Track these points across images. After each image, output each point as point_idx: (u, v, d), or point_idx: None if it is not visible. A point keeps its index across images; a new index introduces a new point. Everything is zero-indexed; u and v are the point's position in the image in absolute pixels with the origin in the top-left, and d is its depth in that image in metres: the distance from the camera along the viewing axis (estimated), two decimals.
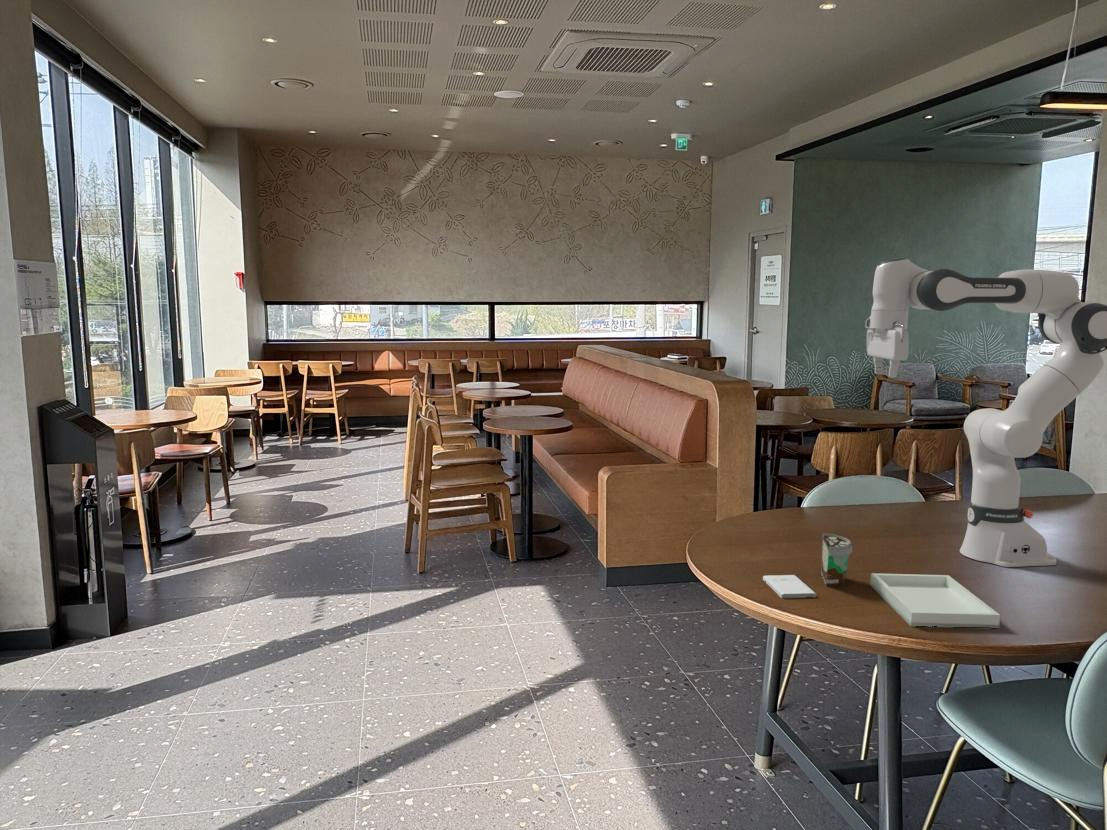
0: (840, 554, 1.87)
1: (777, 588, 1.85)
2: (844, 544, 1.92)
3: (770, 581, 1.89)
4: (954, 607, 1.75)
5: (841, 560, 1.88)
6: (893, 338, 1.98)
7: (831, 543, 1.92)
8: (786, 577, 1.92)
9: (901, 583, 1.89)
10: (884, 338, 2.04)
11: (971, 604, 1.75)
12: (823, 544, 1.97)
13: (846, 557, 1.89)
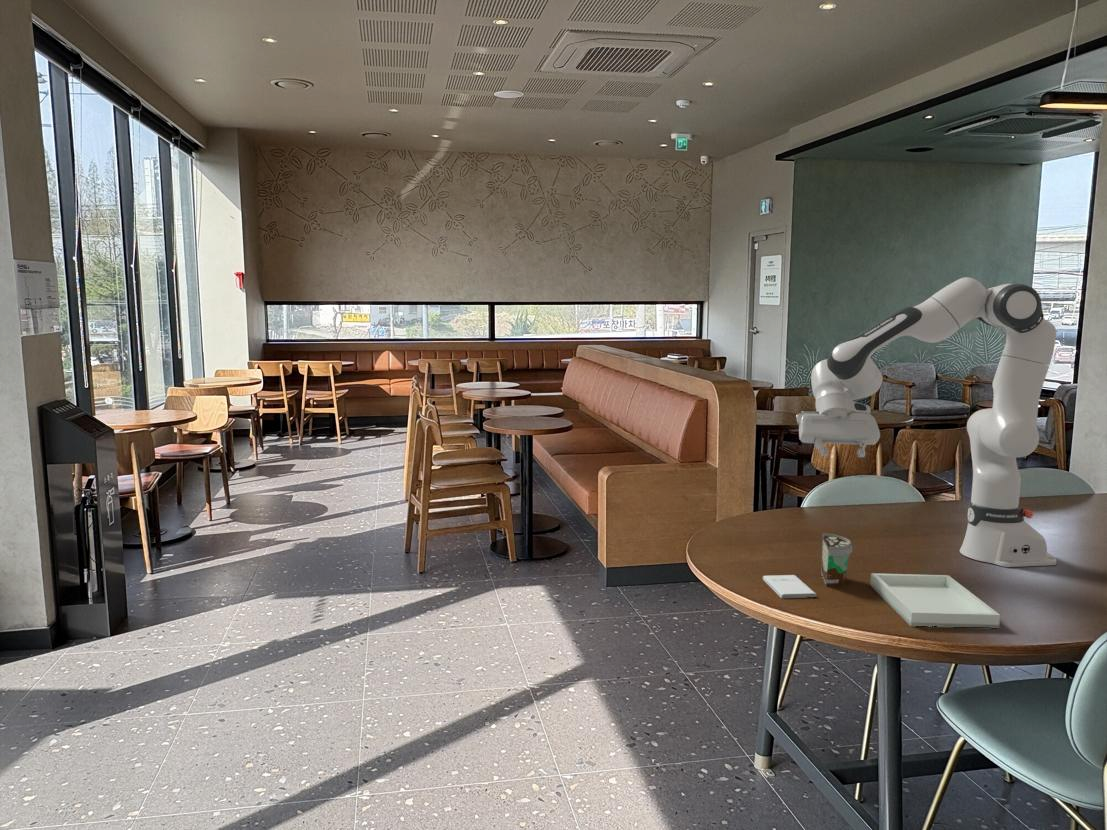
0: (840, 554, 1.87)
1: (777, 588, 1.85)
2: (844, 544, 1.92)
3: (770, 581, 1.89)
4: (954, 607, 1.75)
5: (841, 560, 1.88)
6: None
7: (831, 543, 1.92)
8: (786, 577, 1.92)
9: (901, 583, 1.89)
10: None
11: (971, 604, 1.75)
12: (823, 544, 1.97)
13: (846, 557, 1.89)
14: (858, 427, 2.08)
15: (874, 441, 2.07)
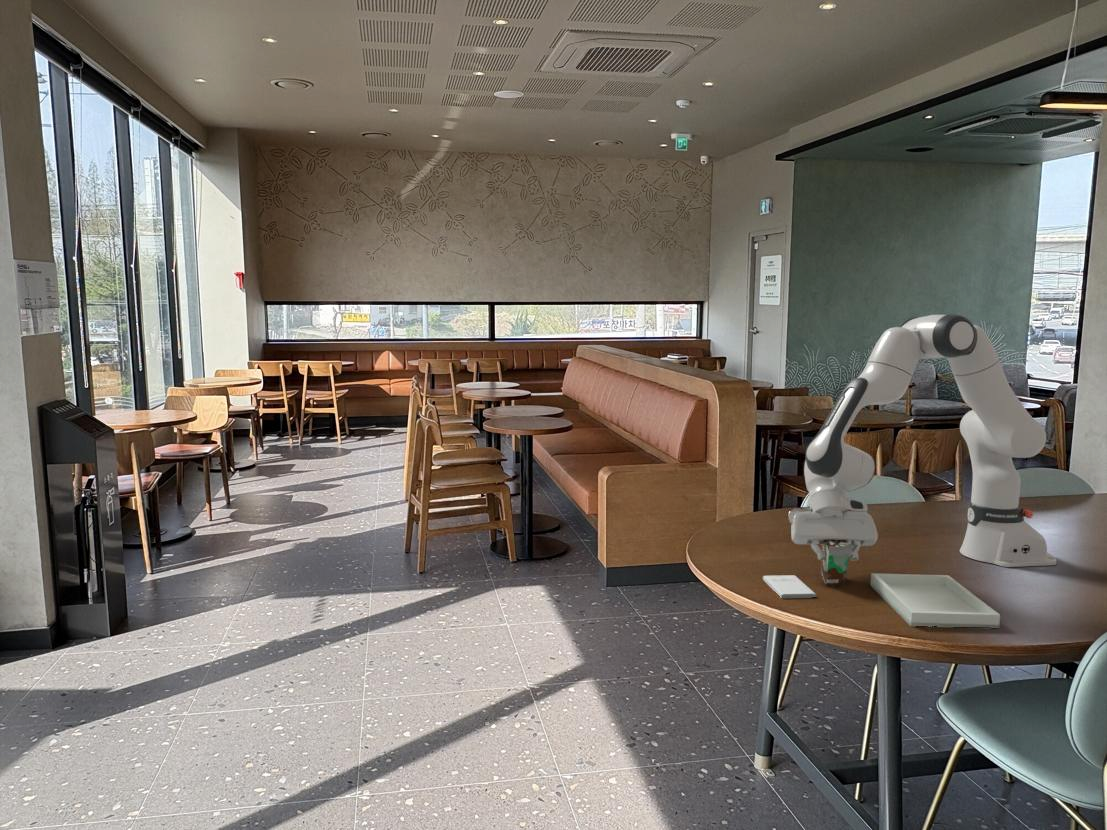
0: (840, 554, 1.87)
1: (777, 588, 1.85)
2: (844, 544, 1.92)
3: (770, 581, 1.89)
4: (954, 607, 1.75)
5: (841, 560, 1.88)
6: None
7: (831, 542, 1.92)
8: (786, 578, 1.92)
9: (901, 583, 1.89)
10: None
11: (971, 604, 1.75)
12: None
13: (846, 557, 1.89)
14: (854, 527, 1.95)
15: (872, 542, 1.94)
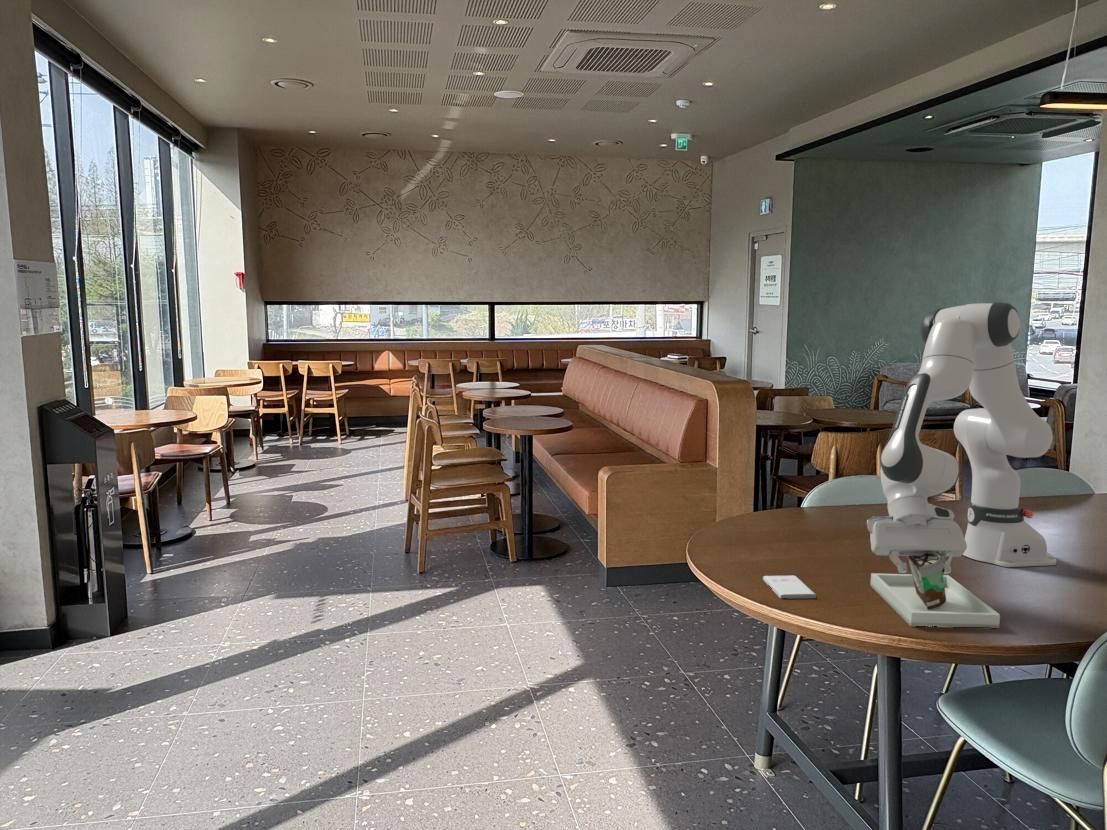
0: (933, 572, 1.71)
1: (776, 589, 1.85)
2: (933, 559, 1.76)
3: (770, 581, 1.89)
4: (954, 607, 1.75)
5: (936, 578, 1.72)
6: None
7: (919, 561, 1.76)
8: (786, 578, 1.92)
9: (901, 583, 1.89)
10: None
11: (971, 604, 1.75)
12: (910, 563, 1.81)
13: (940, 573, 1.73)
14: (941, 537, 1.79)
15: (960, 553, 1.78)
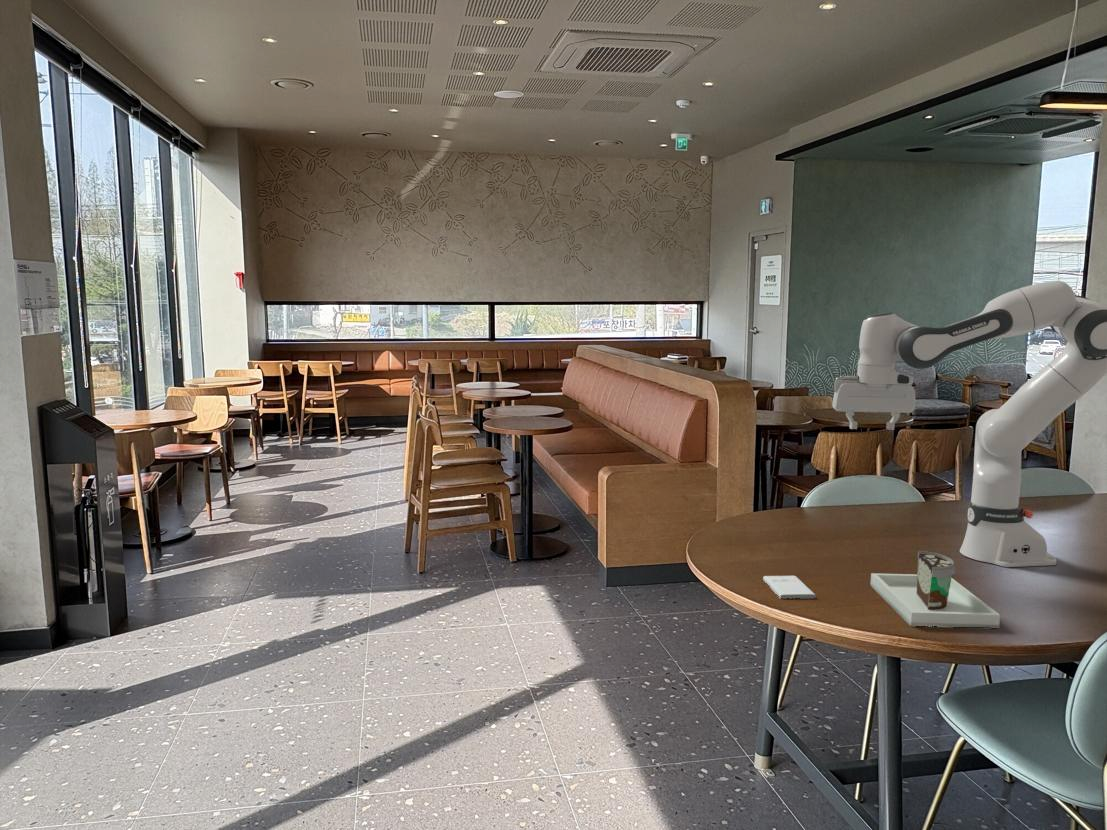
0: (945, 575, 1.71)
1: (776, 589, 1.84)
2: (946, 563, 1.76)
3: (770, 582, 1.89)
4: (954, 607, 1.75)
5: (945, 581, 1.72)
6: None
7: (931, 562, 1.76)
8: (787, 578, 1.92)
9: (901, 583, 1.89)
10: None
11: (971, 604, 1.75)
12: (919, 563, 1.81)
13: (950, 578, 1.73)
14: (895, 400, 2.04)
15: None
